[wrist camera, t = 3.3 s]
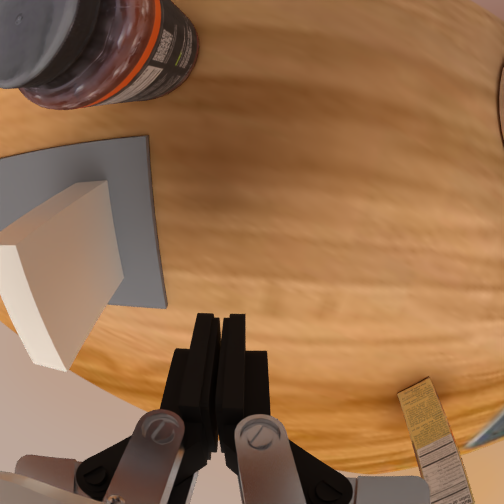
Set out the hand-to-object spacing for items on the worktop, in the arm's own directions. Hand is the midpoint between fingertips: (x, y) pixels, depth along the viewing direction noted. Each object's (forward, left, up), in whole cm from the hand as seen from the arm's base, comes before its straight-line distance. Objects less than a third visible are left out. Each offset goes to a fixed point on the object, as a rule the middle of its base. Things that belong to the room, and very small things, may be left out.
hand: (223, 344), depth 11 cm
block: (+9, 0, -9) cm, 13 cm away
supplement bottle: (+5, -11, -10) cm, 16 cm away
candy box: (-20, +20, -10) cm, 29 cm away
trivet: (+14, 0, -10) cm, 17 cm away
